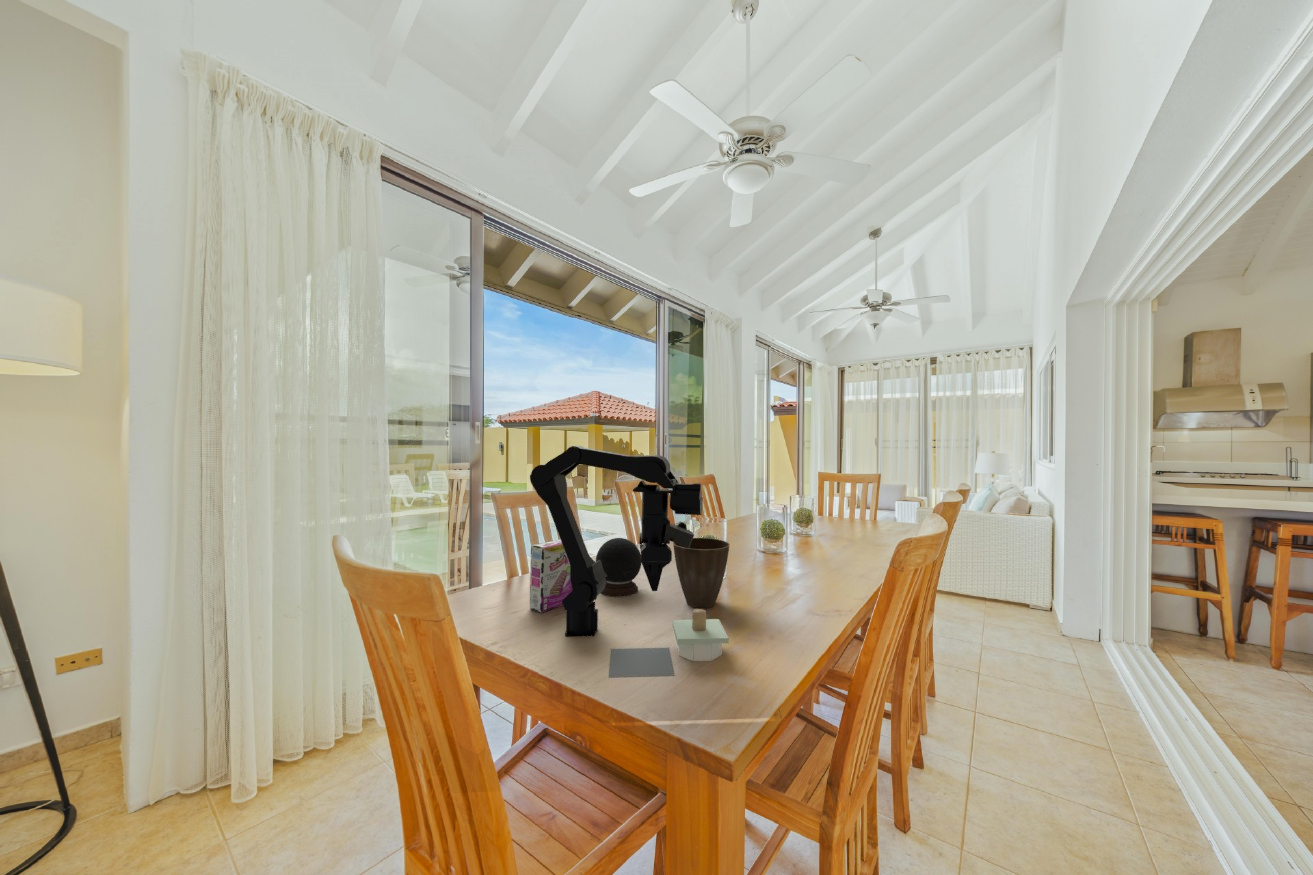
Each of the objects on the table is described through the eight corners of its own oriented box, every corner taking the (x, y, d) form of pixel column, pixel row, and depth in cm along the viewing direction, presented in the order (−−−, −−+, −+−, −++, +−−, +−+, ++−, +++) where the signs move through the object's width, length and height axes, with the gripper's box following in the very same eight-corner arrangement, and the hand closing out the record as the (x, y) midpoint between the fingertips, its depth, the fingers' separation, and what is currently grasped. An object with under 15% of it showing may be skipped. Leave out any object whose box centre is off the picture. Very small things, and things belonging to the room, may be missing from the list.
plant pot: (675, 593, 138) (676, 536, 139) (729, 595, 136) (729, 538, 136) (669, 611, 124) (670, 548, 124) (729, 614, 122) (729, 550, 122)
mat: (608, 679, 89) (608, 677, 89) (610, 650, 101) (610, 648, 101) (674, 677, 89) (674, 675, 89) (668, 649, 101) (668, 647, 101)
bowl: (680, 663, 95) (680, 642, 95) (675, 644, 104) (676, 625, 104) (724, 662, 96) (724, 641, 96) (716, 643, 104) (716, 624, 104)
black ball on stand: (629, 581, 150) (629, 532, 150) (649, 593, 138) (649, 540, 138) (588, 587, 143) (589, 536, 143) (605, 600, 132) (606, 544, 132)
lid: (677, 644, 94) (677, 620, 95) (672, 624, 104) (672, 603, 104) (728, 643, 95) (728, 619, 95) (718, 623, 105) (718, 602, 105)
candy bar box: (542, 613, 122) (542, 547, 122) (529, 609, 125) (529, 545, 125) (574, 601, 131) (575, 540, 131) (561, 598, 134) (562, 538, 134)
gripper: (697, 520, 98) (695, 598, 98) (686, 507, 117) (685, 572, 117) (641, 520, 98) (640, 598, 98) (639, 506, 116) (638, 572, 116)
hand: (653, 584), depth 107 cm, fingers open, 9 cm apart
